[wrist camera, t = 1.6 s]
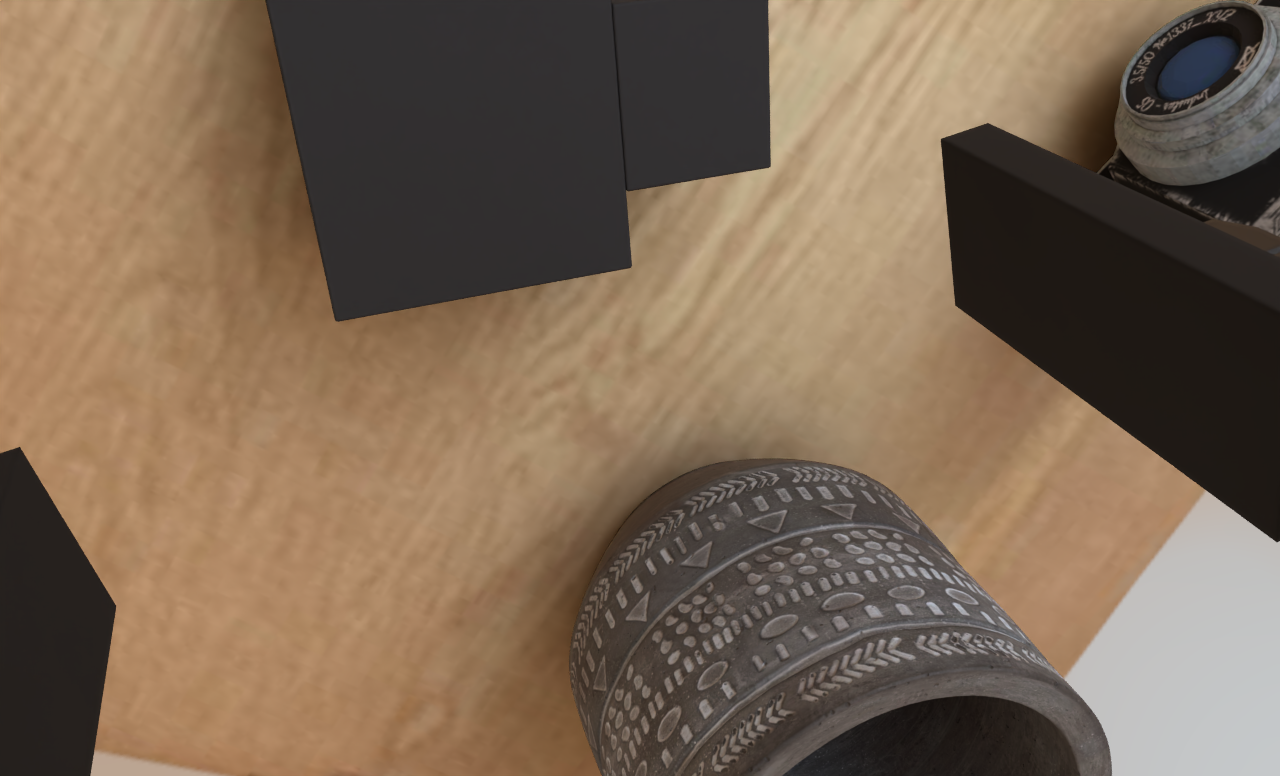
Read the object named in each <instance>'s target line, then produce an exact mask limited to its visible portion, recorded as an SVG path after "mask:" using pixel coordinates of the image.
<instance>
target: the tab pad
mask: <svg viewBox="0 0 1280 776" xmlns="http://www.w3.org/2000/svg"><path fill="white" fill-rule="evenodd" d="M265 1H266V5H267V10H268V14H269V19H270V24H271V28H272V33H273V37H274V42H275V46H276V51H277V56H278V60H279V65H280V69H281V74H282V79H283V83H284V88H285V92H286V97H287V102H288V106H289V111H290V115H291V120H292V125H293V129H294V134H295V138H296V143H297V148H298V152H299V157H300V161H301V166H302V171H303V175H304V180H305V184H306V189H307V194H308V198H309V203H310V207H311V212H312V217H313V221H314V226H315V230H316V235H317V240H318V244H319V249H320V253H321V258H322V263H323V267H324V272H325V276H326V281H327V286H328V290H329V295H330V299H331V304H332V309H333V313H334V318H335V320H336V321H338V322H339V321H344V320H349V319H355V318H360V317H366V316H371V315H377V314H382V313H388V312H393V311H399V310H404V309H409V308H415V307H420V306H426V305H431V304H437V303H442V302H448V301H453V300H458V299H464V298H469V297H475V296H480V295H486V294H491V293H497V292H502V291H508V290H513V289H518V288H524V287H529V286H535V285H540V284H546V283H551V282H557V281H562V280H567V279H573V278H578V277H584V276H589V275H595V274H600V273H606V272H611V271H617V270H622V269H627V268H631V266H632V261H631V249H630V236H629V223H628V210H627V198H626V190H627V191H633V190H639V189H645V188H651V187H657V186H663V185H669V184H675V183H681V182H687V181H692V180H698V179H704V178H710V177H716V176H722V175H728V174H734V173H740V172H746V171H752V170H758V169H764V168H769V167H770V166H771V158H770V92H769V26H768V0H265Z"/></svg>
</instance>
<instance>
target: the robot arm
mask: <svg viewBox="0 0 1280 776" xmlns="http://www.w3.org/2000/svg"><path fill="white" fill-rule="evenodd" d="M941 147H942V158H943V170H944V181H945V193H946V204H947V215H948V227H949V238H950V250H951V261H952V273H953V284H954V296H955V305H956V306H957V307H958V308H960V309H961V310H962V311H964V312H965V313H966V314H968V315H969V316H971V317H972V318H973V319H975V320H976V321H977V322H979V323H980V324H981V325H983V326H984V327H985V328H987V329H988V330H990V331H991V332H992V333H994V334H995V335H996V336H998V337H999V338H1000V339H1002V340H1003V341H1004V342H1006V343H1007V344H1009V345H1010V346H1011V347H1013V348H1014V349H1015V350H1017V351H1018V352H1019V353H1021V354H1022V355H1023V356H1025V357H1026V358H1027V359H1029V360H1030V361H1032V362H1033V363H1034V364H1036V365H1037V366H1038V367H1040V368H1041V369H1042V370H1044V371H1045V372H1046V373H1048V374H1049V375H1051V376H1052V377H1053V378H1055V379H1056V380H1057V381H1059V382H1060V383H1061V384H1063V385H1064V386H1065V387H1067V388H1068V389H1070V390H1071V391H1072V392H1074V393H1075V394H1076V395H1078V396H1079V397H1080V398H1082V399H1083V400H1084V401H1086V402H1087V403H1089V404H1090V405H1091V406H1093V407H1094V408H1095V409H1097V410H1098V411H1099V412H1101V413H1102V414H1103V415H1105V416H1106V417H1108V418H1109V419H1110V420H1112V421H1113V422H1114V423H1116V424H1117V425H1118V426H1120V427H1121V428H1122V429H1124V430H1125V431H1127V432H1128V433H1129V434H1131V435H1132V436H1133V437H1135V438H1136V439H1137V440H1139V441H1140V442H1141V443H1143V444H1144V445H1146V446H1147V447H1148V448H1150V449H1151V450H1152V451H1154V452H1155V453H1156V454H1158V455H1159V456H1160V457H1162V458H1163V459H1165V460H1166V461H1167V462H1169V463H1170V464H1171V465H1173V466H1174V467H1175V468H1177V469H1178V470H1179V471H1181V472H1182V473H1184V474H1185V475H1186V476H1188V477H1189V478H1190V479H1192V480H1193V481H1194V482H1196V483H1197V484H1198V485H1200V486H1201V487H1203V488H1204V489H1205V490H1207V491H1208V492H1209V493H1211V494H1212V495H1214V496H1215V497H1216V498H1218V499H1219V500H1220V501H1222V502H1223V503H1224V504H1226V505H1227V506H1228V507H1230V508H1231V509H1232V510H1234V511H1235V512H1236V513H1238V514H1239V515H1241V516H1242V517H1243V518H1245V519H1246V520H1247V521H1249V522H1250V523H1252V524H1253V525H1254V526H1255V527H1257V528H1258V529H1260V530H1261V531H1262V532H1264V533H1265V534H1267V535H1268V536H1269V537H1270V538H1272V539H1273V540H1275V541H1276V542H1279V541H1280V237H1279V236H1276V235H1274V234H1272V233H1270V232H1267V231H1265V230H1263V229H1261V228H1258V227H1254V226H1248V225H1243V224H1238V223H1232V222H1227V221H1222V220H1216V219H1211V220H1208V221H1206V222H1202V221H1199V220H1197V219H1195V218H1193V217H1191V216H1189V215H1186V214H1184V213H1182V212H1180V211H1178V210H1176V209H1173V208H1171V207H1169V206H1167V205H1165V204H1162V203H1160V202H1158V201H1156V200H1154V199H1152V198H1149V197H1147V196H1145V195H1143V194H1141V193H1139V192H1136V191H1134V190H1132V189H1130V188H1128V187H1126V186H1123V185H1121V184H1119V183H1117V182H1115V181H1113V180H1110V179H1108V178H1106V177H1104V176H1102V175H1099V174H1097V173H1095V172H1093V171H1091V170H1089V169H1086V168H1084V167H1082V166H1080V165H1078V164H1076V163H1073V162H1071V161H1069V160H1067V159H1065V158H1063V157H1060V156H1058V155H1056V154H1054V153H1052V152H1050V151H1047V150H1045V149H1043V148H1041V147H1039V146H1036V145H1034V144H1032V143H1030V142H1028V141H1026V140H1023V139H1021V138H1019V137H1017V136H1015V135H1013V134H1010V133H1008V132H1006V131H1004V130H1002V129H1000V128H997V127H995V126H993V125H991V124H989V123H987V124H984V125H981V126H978V127H975V128H972V129H969V130H966V131H963V132H960V133H957V134H954V135H951V136H948V137H945V138H942V139H941ZM115 611H116V605H115V603H114V602H113V600H112V598H111V597H110V595H109V593H108V592H107V590H106V588H105V587H104V585H103V584H102V582H101V580H100V579H99V577H98V575H97V574H96V572H95V570H94V569H93V567H92V565H91V564H90V562H89V560H88V559H87V557H86V555H85V554H84V552H83V551H82V549H81V547H80V546H79V544H78V542H77V541H76V539H75V537H74V536H73V534H72V532H71V531H70V529H69V527H68V526H67V524H66V522H65V521H64V519H63V518H62V516H61V514H60V513H59V511H58V509H57V508H56V506H55V504H54V503H53V501H52V499H51V498H50V496H49V494H48V493H47V491H46V489H45V488H44V486H43V485H42V483H41V481H40V480H39V478H38V476H37V475H36V473H35V471H34V470H33V468H32V466H31V465H30V463H29V461H28V460H27V458H26V456H25V455H24V453H23V451H22V450H21V448H20V447H18V448H15V449H12V450H9V451H6V452H3V453H0V776H90V774H91V767H92V761H93V755H94V748H95V742H96V735H97V729H98V722H99V716H100V709H101V703H102V696H103V690H104V683H105V676H106V670H107V663H108V657H109V650H110V644H111V637H112V631H113V624H114V618H115Z"/></svg>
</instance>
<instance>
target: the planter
mask: <svg viewBox="0 0 1280 776" xmlns="http://www.w3.org/2000/svg"><path fill="white" fill-rule="evenodd" d="M569 669H570V681H571V688H572V691H573V695H574V699H575V703H576V706H577V709H578V713H579V716H580V719H581V722H582V725H583V728H584V731H585V734H586V737H587V740H588V742H589V745H590V747H591V750H592V752H593V755H594V757H595V760H596V763H597V765H598V767H599V770H600V772H601V774H602V776H1112V767H1111V766H1112V765H1111V756H1110V749H1109V745H1108V741H1107V738H1106V736H1105V733H1104V731H1103V728H1102V726H1101V724H1100V722H1099V720H1098V719H1097V717H1096V715H1095V714H1094V713H1093V712H1092V710H1091V709H1090V708H1089V706H1088V705H1087V704H1086V703H1085V702H1084V700H1083V699H1082V698H1081V697H1080V696H1079V695H1078V694H1077V693H1076V692H1075V691H1074V690H1073V689H1072V687H1071V686H1070V685H1069V684H1068V683H1067V682H1066V681H1065V680H1064V679H1063V678H1062V676H1061V675H1060V674H1059V673H1058V672H1057V671H1056V670H1055V669H1054V668H1053V667H1052V666H1051V665H1050V664H1049V662H1048V661H1047V660H1046V658H1045V657H1044V656H1043V655H1042V654H1041V653H1040V651H1039V650H1038V649H1037V648H1036V647H1035V645H1034V644H1033V643H1032V642H1031V641H1030V640H1029V638H1028V637H1027V636H1026V635H1025V634H1024V633H1023V631H1022V630H1021V629H1020V628H1019V627H1018V626H1017V625H1016V624H1015V622H1014V621H1013V620H1012V619H1011V618H1010V617H1009V616H1008V615H1007V613H1006V612H1005V611H1004V610H1003V609H1002V608H1001V607H1000V606H999V605H998V604H997V603H996V602H995V601H994V600H993V599H992V597H991V596H990V595H989V594H988V593H987V592H986V591H985V590H984V589H983V588H982V587H981V586H980V585H979V584H978V583H977V582H976V581H975V580H974V579H973V578H972V577H971V576H970V575H969V574H968V573H967V572H966V571H965V570H964V569H963V568H962V566H961V565H960V564H959V563H958V562H957V560H956V559H955V558H954V557H953V555H952V554H951V553H950V552H949V551H948V549H947V548H946V547H945V546H944V545H943V543H942V542H941V541H940V540H939V539H938V537H937V536H936V535H935V534H934V533H933V532H932V531H931V530H930V528H929V527H928V526H927V525H926V524H925V523H924V522H923V521H922V520H921V519H920V518H919V517H918V516H917V515H916V514H915V513H914V512H913V511H912V510H911V509H910V508H909V507H908V506H907V505H906V504H905V503H904V502H903V501H902V500H901V499H900V498H899V497H898V496H897V495H896V494H894V493H893V492H892V491H891V490H889V489H888V488H887V487H885V486H884V485H882V484H881V483H879V482H878V481H876V480H874V479H872V478H870V477H868V476H866V475H864V474H862V473H859V472H857V471H854V470H850V469H847V468H844V467H841V466H836V465H831V464H826V463H820V462H813V461H805V460H792V459H750V460H739V461H729V462H722V463H716V464H712V465H708V466H705V467H701V468H698V469H696V470H693V471H691V472H688V473H686V474H684V475H682V476H680V477H678V478H676V479H674V480H672V481H670V482H669V483H667V484H665V485H664V486H662V487H661V488H660V489H658V490H657V491H655V492H654V493H653V494H651V495H650V496H649V497H648V498H646V499H645V500H644V501H643V502H642V503H641V504H640V505H639V506H638V507H637V508H636V509H635V510H634V511H633V512H632V513H631V515H630V516H629V517H628V518H627V520H626V521H625V522H624V523H623V525H622V526H621V528H620V529H619V531H618V532H617V534H616V535H615V537H614V539H613V540H612V542H611V543H610V545H609V546H608V548H607V550H606V551H605V553H604V555H603V557H602V559H601V561H600V563H599V564H598V566H597V568H596V570H595V572H594V574H593V576H592V579H591V581H590V583H589V586H588V588H587V590H586V593H585V595H584V598H583V600H582V603H581V606H580V610H579V613H578V616H577V619H576V622H575V625H574V629H573V634H572V639H571V646H570V655H569Z"/></svg>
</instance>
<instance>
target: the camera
mask: <svg viewBox="0 0 1280 776" xmlns="http://www.w3.org/2000/svg"><path fill="white" fill-rule="evenodd" d="M1120 94H1121V95H1120V100H1119V105H1118V109H1117V113H1116V118H1115V123H1114V127H1115V138H1116V140H1117V143H1118V144H1117V147H1116V150H1115V152H1114V155H1113V156H1112V157H1111V158H1110V159H1109V160H1108V161H1107V162H1106V164H1105V165H1104V166H1103V167H1102V168H1101V169H1100V170H1099V171H1098V172H1097V174H1099V175H1102V176H1104V177H1106V178H1108V179H1110V180H1113V181H1115V182H1117V183H1119V184H1121V185H1123V186H1126V187H1128V188H1130V189H1132V190H1134V191H1136V192H1139V193H1141V194H1143V195H1145V196H1147V197H1149V198H1152V199H1154V200H1156V201H1158V202H1160V203H1162V204H1165V205H1167V206H1169V207H1171V208H1173V209H1176V210H1178V211H1180V212H1182V213H1184V214H1186V215H1189V216H1191V217H1193V218H1195V219H1197V220H1199V221H1202V222H1206V221H1208V220H1211V219H1216V220H1222V221H1227V222H1232V223H1238V224H1243V225H1248V226H1254V227H1258V228H1261V229H1263V230H1265V231H1267V232H1270V233H1272V234H1274V235H1276V236H1279V237H1280V0H1259V1H1258V2H1257V3H1256V4H1255V5H1252V4H1250V3H1247V2H1244V1H1235V0H1229V1H1219V2H1214V3H1210V4H1206V5H1203V6H1201V7H1198V8H1195V9H1193V10H1190V11H1188V12H1186V13H1184V14H1182V15H1180V16H1178V17H1177V18H1175V19H1174V20H1172V21H1171V22H1169V23H1167V24H1166V25H1164V26H1163V27H1162V28H1161V29H1159V30H1158V31H1157V32H1156V33H1154V34H1153V35H1152V36H1151V37H1150V38H1149V39H1148V40H1147V41H1146V42H1145V43H1144V44H1143V45H1142V46H1141V47H1140V48H1139V50H1138V51H1137V52H1136V53H1135V54H1134V56H1133V57H1132V59H1131V60H1130V62H1129V64H1128V65H1127V67H1126V69H1125V72H1124V74H1123V76H1122V81H1121V86H1120Z"/></svg>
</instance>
